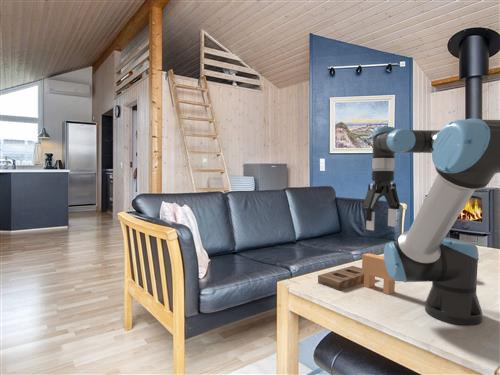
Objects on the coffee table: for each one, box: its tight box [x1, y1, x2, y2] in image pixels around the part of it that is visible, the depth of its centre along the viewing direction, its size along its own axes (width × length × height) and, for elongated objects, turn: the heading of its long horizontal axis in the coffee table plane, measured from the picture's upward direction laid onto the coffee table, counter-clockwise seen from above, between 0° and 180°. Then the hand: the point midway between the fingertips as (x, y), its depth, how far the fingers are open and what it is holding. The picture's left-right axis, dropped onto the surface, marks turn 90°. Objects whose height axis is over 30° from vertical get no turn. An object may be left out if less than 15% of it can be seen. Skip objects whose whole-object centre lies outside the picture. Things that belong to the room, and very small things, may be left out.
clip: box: [361, 252, 396, 295], centre depth 126 cm, size 12×4×12 cm, turn 37°
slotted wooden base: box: [317, 265, 364, 291], centre depth 136 cm, size 22×10×3 cm, turn 127°
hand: (381, 228), depth 126 cm, fingers open, 13 cm apart
